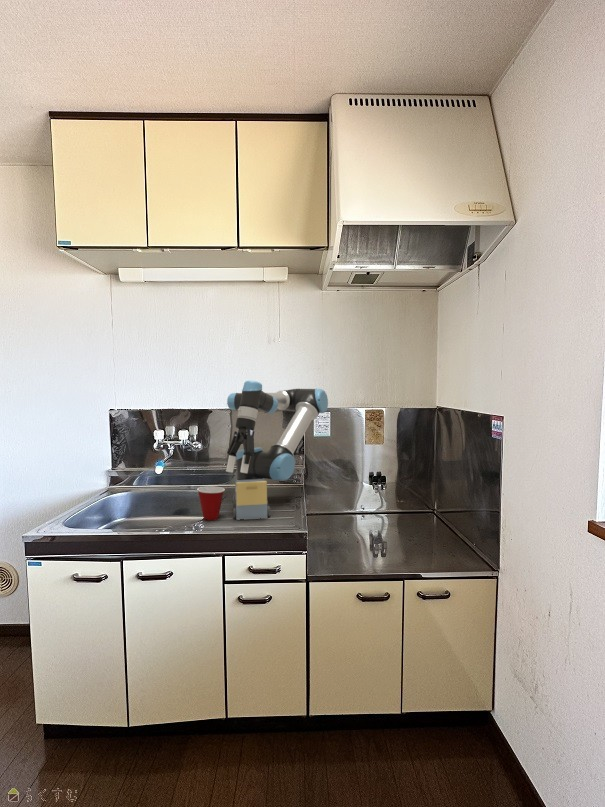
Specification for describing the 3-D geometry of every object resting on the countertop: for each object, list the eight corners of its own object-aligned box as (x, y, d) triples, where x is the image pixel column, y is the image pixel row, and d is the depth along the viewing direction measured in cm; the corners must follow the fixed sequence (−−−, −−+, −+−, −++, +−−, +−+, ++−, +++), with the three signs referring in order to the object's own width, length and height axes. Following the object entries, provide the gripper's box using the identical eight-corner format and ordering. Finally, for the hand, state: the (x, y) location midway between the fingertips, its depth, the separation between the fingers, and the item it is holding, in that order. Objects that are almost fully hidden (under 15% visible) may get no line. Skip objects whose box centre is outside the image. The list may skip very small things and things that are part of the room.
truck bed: (232, 509, 196) (232, 480, 195) (267, 507, 198) (266, 478, 197) (233, 520, 182) (232, 488, 181) (270, 517, 184) (269, 486, 184)
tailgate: (236, 504, 182) (236, 482, 180) (266, 503, 184) (266, 480, 182) (236, 506, 180) (236, 483, 179) (267, 504, 182) (266, 482, 181)
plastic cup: (230, 519, 183) (229, 489, 182) (203, 524, 178) (202, 493, 177) (219, 512, 192) (218, 483, 192) (193, 517, 187) (193, 487, 186)
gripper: (225, 419, 195) (215, 470, 191) (251, 414, 174) (240, 471, 170) (241, 423, 199) (232, 473, 194) (269, 419, 178) (259, 474, 173)
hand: (236, 472), depth 182 cm, fingers open, 13 cm apart
